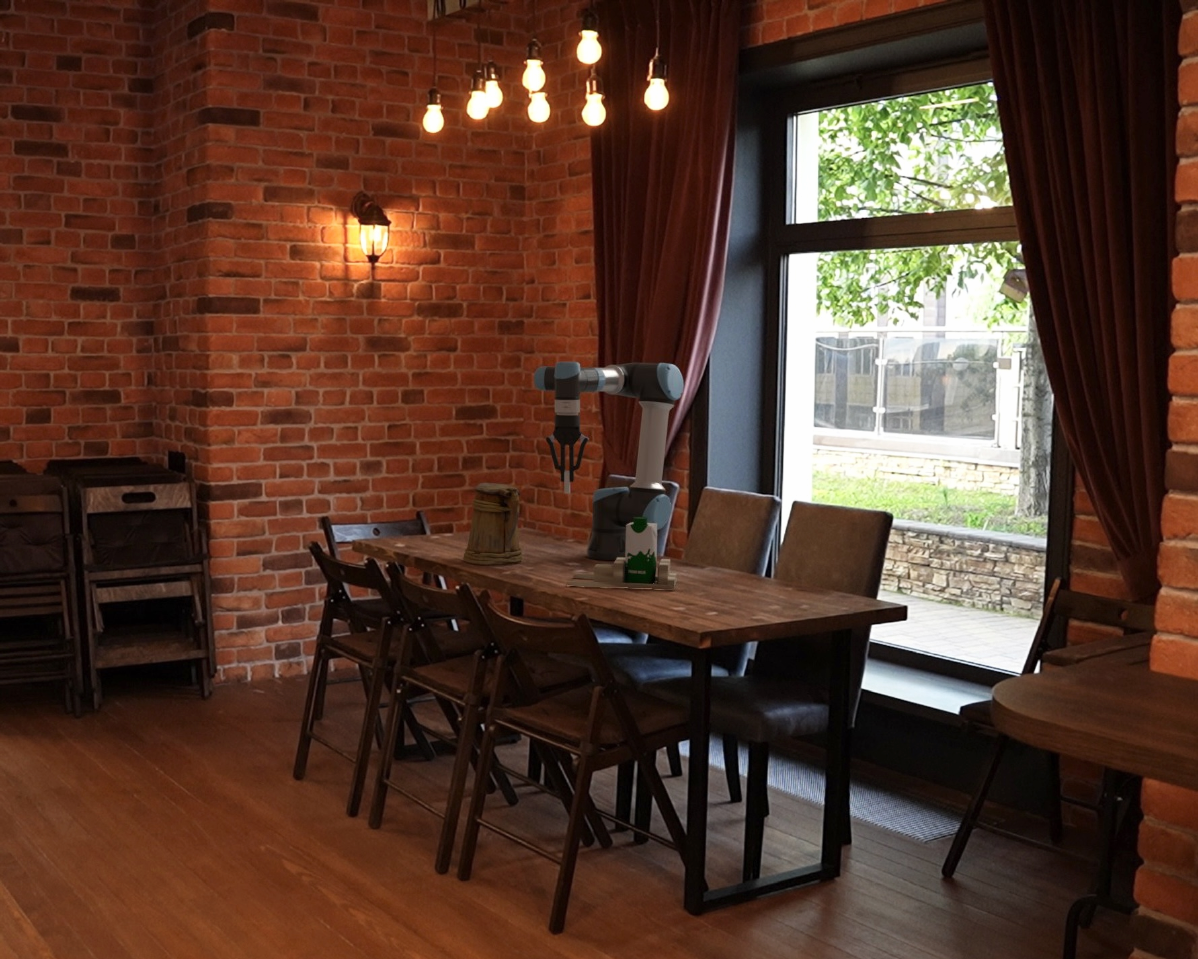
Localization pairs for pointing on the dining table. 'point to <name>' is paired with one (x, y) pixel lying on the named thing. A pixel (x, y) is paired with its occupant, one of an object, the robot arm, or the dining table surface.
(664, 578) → the vise bed
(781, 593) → the dining table surface
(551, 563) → the dining table surface
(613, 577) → the sliding jaw
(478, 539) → the tankard
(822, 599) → the dining table surface
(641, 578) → the soya milk
